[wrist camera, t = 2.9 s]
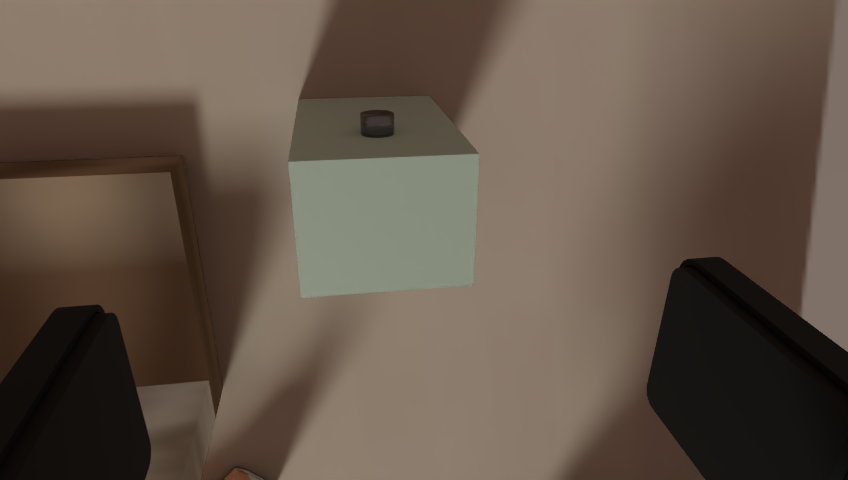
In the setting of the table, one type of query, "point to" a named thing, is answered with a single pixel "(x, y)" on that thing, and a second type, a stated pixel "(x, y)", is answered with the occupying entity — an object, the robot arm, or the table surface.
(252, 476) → the ink box
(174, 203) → the brown open box
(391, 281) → the mini cabinet
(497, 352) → the table surface
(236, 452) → the table surface
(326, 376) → the table surface
